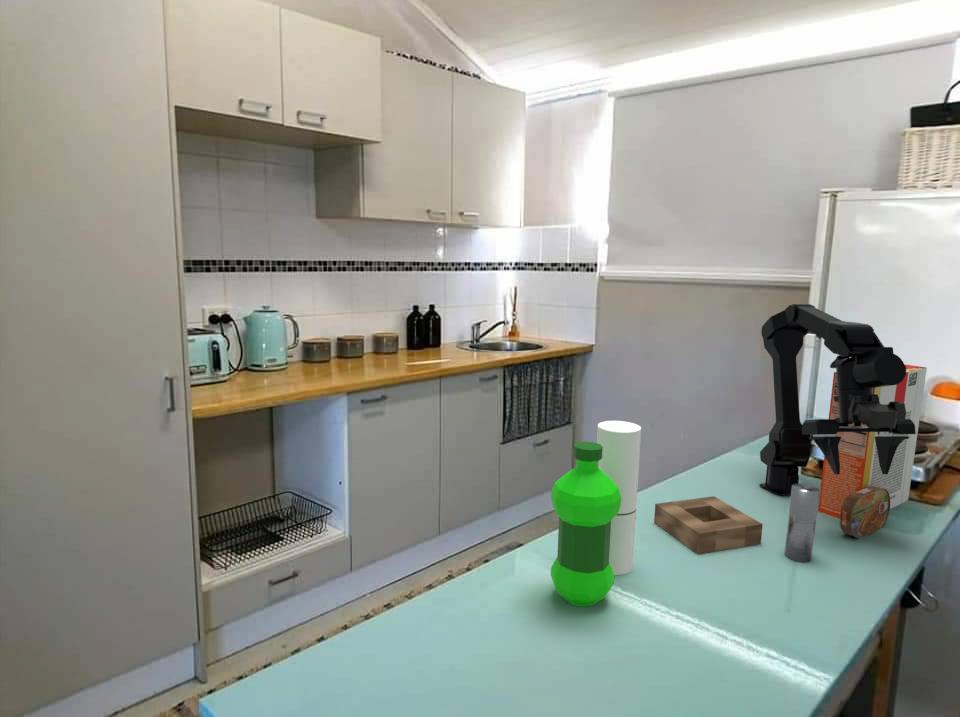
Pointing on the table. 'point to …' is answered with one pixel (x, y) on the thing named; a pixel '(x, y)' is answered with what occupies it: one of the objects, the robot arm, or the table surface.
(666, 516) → the collar block
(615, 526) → the cylindrical container
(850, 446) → the pasta box
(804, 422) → the robot arm
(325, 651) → the table surface
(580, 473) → the plastic bottle
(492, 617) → the table surface
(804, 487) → the grey glossy round cylinder
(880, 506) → the tin
